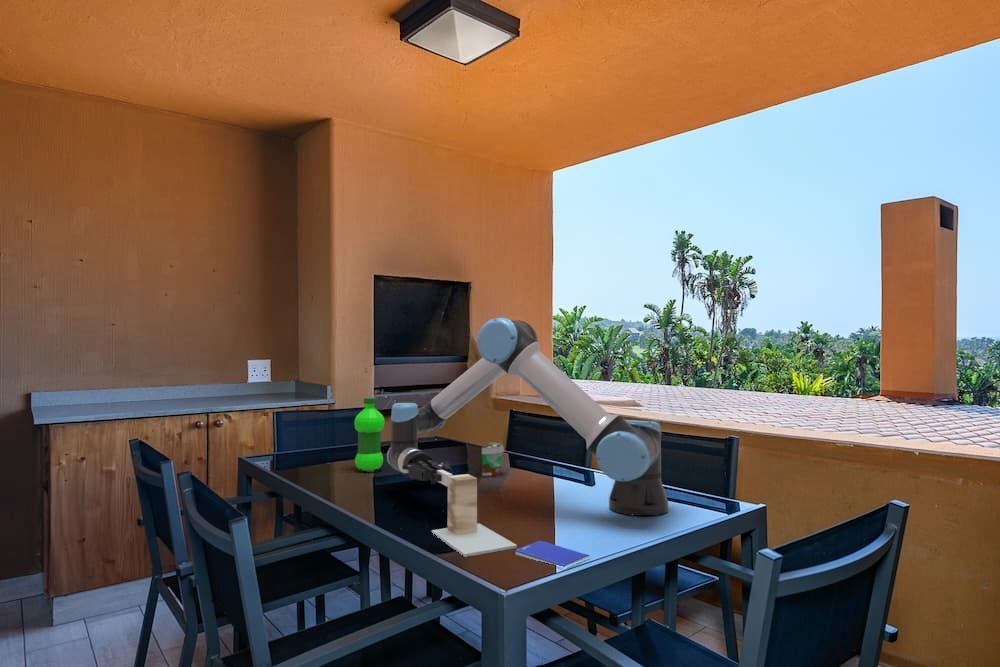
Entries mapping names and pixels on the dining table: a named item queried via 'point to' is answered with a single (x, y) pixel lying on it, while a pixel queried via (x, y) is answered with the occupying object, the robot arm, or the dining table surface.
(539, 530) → the dining table surface
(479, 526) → the rubber mat
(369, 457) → the plastic bottle
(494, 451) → the food container
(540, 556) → the hard drive
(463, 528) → the birch block
